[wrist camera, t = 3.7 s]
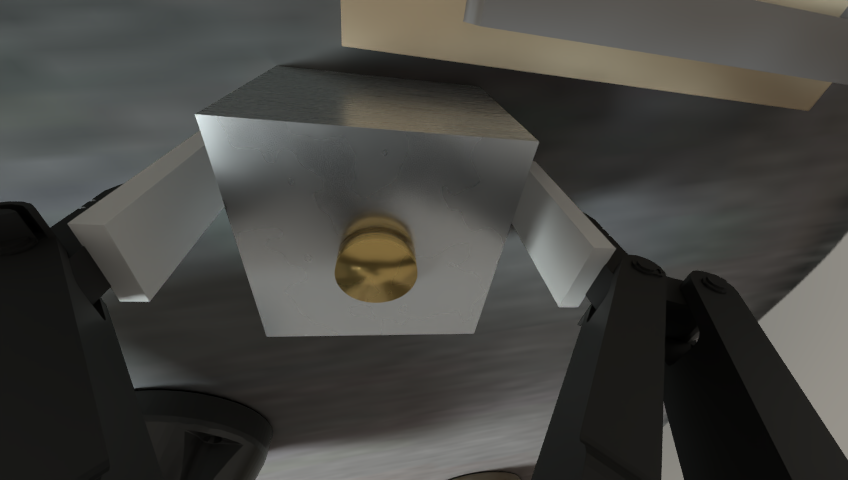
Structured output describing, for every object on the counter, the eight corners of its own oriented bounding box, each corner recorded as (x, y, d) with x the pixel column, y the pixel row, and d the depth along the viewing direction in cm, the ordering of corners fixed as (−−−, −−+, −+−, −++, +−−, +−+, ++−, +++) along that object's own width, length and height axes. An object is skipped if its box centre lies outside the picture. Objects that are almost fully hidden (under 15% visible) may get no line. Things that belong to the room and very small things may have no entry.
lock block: (448, 237, 18) (478, 350, 12) (303, 233, 17) (259, 356, 11) (478, 85, 13) (552, 154, 7) (277, 64, 12) (175, 125, 6)
